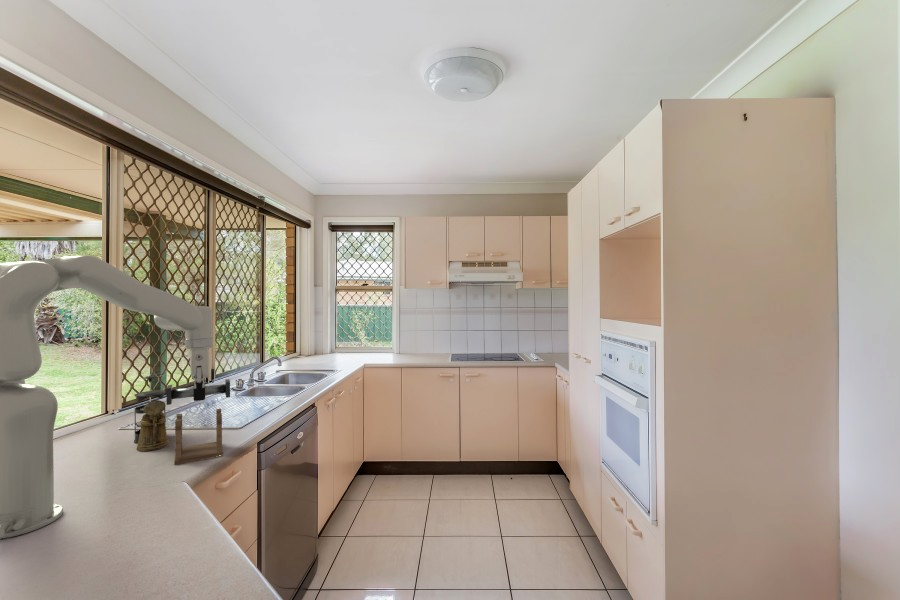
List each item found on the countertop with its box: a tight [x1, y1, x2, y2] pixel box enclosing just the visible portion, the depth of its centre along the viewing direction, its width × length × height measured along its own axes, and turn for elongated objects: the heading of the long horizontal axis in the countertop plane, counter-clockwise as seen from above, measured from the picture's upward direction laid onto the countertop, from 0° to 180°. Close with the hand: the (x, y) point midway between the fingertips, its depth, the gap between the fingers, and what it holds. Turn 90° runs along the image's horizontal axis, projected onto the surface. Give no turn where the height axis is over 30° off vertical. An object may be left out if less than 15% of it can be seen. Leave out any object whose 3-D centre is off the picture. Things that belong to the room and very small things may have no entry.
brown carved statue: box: [136, 399, 170, 452], centre depth 134 cm, size 9×14×18 cm, turn 40°
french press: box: [133, 375, 166, 445], centre depth 143 cm, size 12×9×23 cm
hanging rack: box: [173, 408, 224, 466], centre depth 129 cm, size 12×13×13 cm
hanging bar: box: [165, 378, 231, 406], centre depth 129 cm, size 5×17×5 cm, turn 122°
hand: (199, 398), depth 129 cm, fingers closed on hanging bar, 3 cm apart
